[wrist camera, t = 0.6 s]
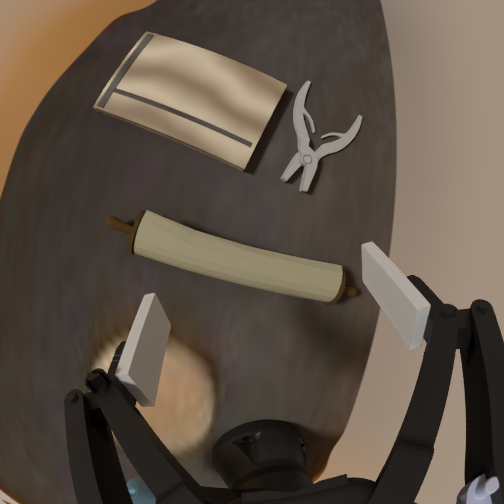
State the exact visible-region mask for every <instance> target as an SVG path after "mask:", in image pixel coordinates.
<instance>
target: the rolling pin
mask: <svg viewBox="0 0 504 504" xmlns="http://www.w3.org/2000/svg"><path fill="white" fill-rule="evenodd" d="M106 223H107V225H108V226H109V227H111V228H113V229H116V230H120V231H123V232H126V233H129V234H130V238H129V242H128V252H129V253H130V254H132V255H133V254H134V253H135V254H138V255H141V256H144V257H147V258H151V259H154V260H157V261H160V262H163V263H166V264H169V265H172V266H175V267H179V268H182V269H185V270H188V271H192V272H196V273H199V274H203V275H207V276H210V277H214V278H218V279H221V280H225V281H229V282H232V283H236V284H241V285H245V286H249V287H254V288H258V289H263V290H267V291H271V292H276V293H281V294H285V295H291V296H296V297H301V298H307V299H312V300H318V301H323V302H324V303H325V304H326V305H334V304H335V303H336V302H337V301H338V300H339V299H340V298H341V296H342V293H343V294H346V295H348V296H350V297H354V296H356V294H357V290H356V289H355V288H354V287H350V286H345V283H346V276H345V271H344V270H343V269H342V266H341V265H336V264H330V263H325V262H320V261H315V260H309V259H304V258H299V257H294V256H290V255H285V254H281V253H276V252H272V251H267V250H263V249H259V248H255V247H251V246H247V245H244V244H240V243H237V242H233V241H230V240H227V239H223V238H220V237H216V236H213V235H210V234H206V233H203V232H200V231H196V230H194V229H191V228H189V227H186V226H184V225H182V224H179V223H177V222H174V221H172V220H169V219H167V218H165V217H162V216H160V215H157V214H155V213H152V212H150V211H148V210H147V211H144V210H143V211H142V212H140V214H139V215H138V217H137V219H136V221H135V223H134V226H132V225H129V224H127V223H125V222H123V221H121V220H120V219H118V218H116V217H113V216H109V217H108V218H107V221H106Z"/></svg>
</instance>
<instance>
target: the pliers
mask: <svg viewBox="0 0 504 504" xmlns="http://www.w3.org/2000/svg"><path fill="white" fill-rule="evenodd" d="M310 83H311V82H310V81H307V82H306V83H305V84H304V85H303V87H302V88H301V89H300V91H299V93H298V95H297V97H296V100H295V104H294V110H293V122H294V127H295V130H296V133H297V138H298V151H299V152H298V153H297V154H296V155H295V156H294V157H293V158H292V160H291V161H290V163H289V165H288V166H287V168H286V170H285V172H284V173H283V175H282V177H281V178H280V179H281V180H282V181H283V182H285V181H287V180H288V179H289V178H290V177H291V175H292V174H293V173H294V172H295V171H296V170H297V169H298V168H299V167H300V166H302V167H304V168H303V174H302V180H301V185H300V190H299V191H301V192H307V191H308V188H309V186H310V184H311V181H312V179H313V176H314V174H315V171H316V169H317V164H318V161H319V159H320V158H321V157H323V156H325V155H327V154H330V153H334V152H337V151H339V150H341V149H343V148H344V147H345V146H347V145H348V144H349V143H350V142H351V141H352V139H353V138H354V137H355V135H356V134H357V132H358V130H359V128H360V125H361V121H362V116H360V115H359V116H358V118H357V119H356V121H355V122H354V124H353V125H352V127H351V128H350V129H349V130H348V132H347V133H346V134H340V133H329V134H326V135H324V136H322V137H321V139H322V138H324V137H327V136H337V137H339V138H340V139H338V140H337V141H334V142H330V143H326V144H323V145H321V146H320V147H319V148H318V149H317V151H316V152H314V151H313V150H312V149H311V148H310V147H309V141H310V139H309V136H308V132H307V129H306V126H305V122H304V118H303V114H304V115H305V116H306V117H307V118H308V120H309V122H310V124H311V128H312V133H315V128H314V123H313V120H312V119H311V117H310V115H309V114H308V113H307V111H306V110H305V108H304V102H305V97H306V94H307V91H308V88H309V85H310Z"/></svg>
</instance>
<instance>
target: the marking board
mask: <svg viewBox="0 0 504 504" xmlns="http://www.w3.org/2000/svg"><path fill="white" fill-rule="evenodd" d="M286 86H287V85H286V84H284V83H282V82H280V81H278V80H276V79H274V78H272V77H270V76H268V75H266V74H264V73H262V72H259V71H257V70H255V69H253V68H251V67H248V66H246V65H244V64H241V63H239V62H237V61H234V60H232V59H229V58H227V57H224V56H222V55H219V54H217V53H214V52H211V51H209V50H206V49H203V48H200V47H197V46H194V45H191V44H188V43H185V42H182V41H179V40H176V39H172V38H169V37H165V36H162V35H158V34H154V33H150V32H146V33H145V34H144V35H143V36H142V37H141V39H140V40H139V41H138V42H137V44H136V45H135V46H134V47H133V49H132V50H131V51H130V53H129V54H128V55H127V57H126V58H125V59H124V61H123V62H122V63H121V65H120V66H119V68H118V69H117V70H116V72H115V73H114V75H113V76H112V78H111V79H110V81H109V82H108V84H107V85H106V87H105V88H104V90H103V91H102V93H101V95H100V96H99V98H98V99H97V101H96V103H95V104H94V106H93V108H94V109H95V110H96V111H98V112H101V113H103V114H106V115H109V116H112V117H115V118H117V119H120V120H123V121H125V122H128V123H131V124H133V125H136V126H139V127H141V128H144V129H146V130H149V131H151V132H154V133H156V134H159V135H161V136H164V137H166V138H169V139H171V140H173V141H176V142H178V143H181V144H183V145H185V146H188V147H190V148H192V149H195V150H197V151H199V152H201V153H204V154H206V155H208V156H210V157H213V158H215V159H217V160H219V161H221V162H224V163H226V164H228V165H230V166H232V167H234V168H236V169H238V170H241V171H243V170H244V169H245V167H246V165H247V163H248V161H249V159H250V157H251V155H252V153H253V151H254V149H255V147H256V145H257V143H258V141H259V139H260V137H261V135H262V133H263V131H264V129H265V127H266V125H267V123H268V121H269V119H270V117H271V115H272V113H273V111H274V109H275V107H276V105H277V103H278V102H279V100H280V98H281V96H282V94H283V92H284V90H285V88H286Z"/></svg>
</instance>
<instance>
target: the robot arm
mask: <svg viewBox="0 0 504 504" xmlns="http://www.w3.org/2000/svg"><path fill="white" fill-rule="evenodd" d="M361 245H362V277H363V282H364V284H365V285H366V287H367V288H368V290H369V291H370V292H371V294H372V295H373V297H374V298H375V300H376V301H377V303H378V304H379V306H380V307H381V308H382V310H383V311H384V313H385V314H386V316H387V318H388V319H389V321H390V322H391V324H392V325H393V327H394V328H395V330H396V331H397V333H398V334H399V336H400V338H401V339H402V341H403V342H404V344H405V346H406V347H407V349H408V350H409V351H410V350H413V349H415V348H418V347H420V346H421V345H422V341H423V338H424V339H425V341H426V342H427V345H426V349H425V352H424V356H423V361H422V365H421V369H420V372H419V376H418V379H417V382H416V386H415V389H414V392H413V395H412V398H411V401H410V404H409V407H408V410H407V413H406V415H405V418H404V421H403V423H402V426H401V429H400V431H399V434H398V436H397V438H396V441H395V443H394V445H393V448H392V450H391V452H390V455H389V457H388V459H387V461H386V463H385V465H384V466H383V468H382V470H381V472H380V474H379V476H378V478H377V480H376V482H374V481H372V480H368V479H364V478H347V474H344V475H341V476H337V477H333V478H330V479H326V480H322V481H319V482H317V483H315V484H313V482H312V480H311V478H310V477H309V475H308V472H307V469H306V446H305V442H304V440H303V438H302V436H301V434H300V433H299V431H298V430H297V429H296V428H295V427H293V426H292V425H290V424H288V423H285V422H281V421H275V420H262V421H254V422H250V423H246V424H243V425H240V426H238V427H236V428H234V429H232V430H230V431H228V432H227V433H225V434H224V435H223V436H222V437H221V438H220V439H219V440H218V441H217V443H216V444H215V446H214V449H213V459H214V465H215V468H216V470H217V472H218V473H219V474H220V476H221V477H222V479H223V480H224V482H225V484H226V485H227V486H228V488H229V489H228V488H214V487H204V486H200V485H199V484H198V483H197V482H196V481H195V480H194V479H193V478H192V477H191V475H190V474H189V473H188V472H187V471H186V470H185V469H184V468H183V467H182V465H181V464H180V463H179V462H178V461H177V460H176V458H175V457H174V456H173V455H172V454H171V453H170V451H169V450H168V449H167V448H166V446H165V445H164V444H163V443H162V441H161V440H160V439H159V438H158V436H157V435H156V434H155V432H154V431H153V430H152V428H151V427H150V426H149V424H148V423H147V421H146V420H145V419H144V417H143V416H142V414H141V413H140V412H139V410H138V409H137V408H136V407H135V405H136V401H137V402H138V403H139V404H140V405H141V406H142V407H146V406H154V405H155V400H156V395H157V389H158V384H159V379H160V374H161V369H162V364H163V360H164V355H165V350H166V346H167V341H168V337H169V332H170V328H171V324H170V322H169V320H168V318H167V316H166V314H165V312H164V310H163V308H162V306H161V304H160V302H159V300H158V298H157V296H156V294H155V293H152V294H147V295H144V298H143V300H142V303H141V305H140V308H139V310H138V313H137V315H136V318H135V320H134V323H133V325H132V328H131V331H130V333H129V336H128V339H127V341H123V342H121V343H120V345H119V346H118V347H117V349H116V351H115V354H114V357H113V359H112V362H111V365H110V368H109V370H108V373H107V374H106V372H105V371H104V370H103V369H100V368H98V369H94V370H92V371H91V372H90V373H88V375H87V376H86V378H85V385H86V386H87V387H88V388H89V390H90V391H91V392H89V393H86V394H83V393H82V392H81V391H80V390H78V389H75V390H72V391H70V392H69V393H68V394H67V395H66V397H65V401H64V405H65V424H66V436H67V446H68V454H69V462H70V468H71V474H72V480H73V485H74V490H75V495H76V499H77V503H78V504H417V503H415V502H414V500H415V498H416V496H417V494H418V492H419V490H420V487H421V485H422V483H423V480H424V478H425V476H426V473H427V471H428V468H429V465H430V462H431V460H432V457H433V453H434V448H433V447H434V443H435V440H436V436H437V433H438V430H439V427H440V423H441V419H442V416H443V412H444V408H445V404H446V400H447V396H448V391H449V386H450V381H451V376H452V370H453V364H454V358H455V351H456V349H460V354H461V361H462V370H463V377H464V388H465V406H466V453H465V486H464V487H463V488H462V489H461V491H460V492H459V494H458V496H457V503H456V504H504V342H503V338H502V335H501V332H500V328H499V325H498V322H497V319H496V316H495V313H494V310H493V307H492V306H491V304H490V303H489V302H488V301H485V300H482V299H481V300H480V299H478V300H475V301H474V302H472V304H471V307H470V308H469V309H461V310H458V309H457V308H456V307H455V306H453V305H450V304H443V302H442V301H441V300H440V299H439V298H438V297H437V296H436V295H435V294H434V293H433V291H432V290H431V289H429V287H428V286H427V285H426V284H425V283H424V282H423V281H422V280H421V279H420V278H418V277H416V276H414V275H410V276H407V277H406V276H405V275H404V274H403V273H402V272H401V271H400V270H399V269H398V268H397V267H396V266H395V264H393V262H392V261H391V260H390V259H389V258H388V257H387V256H386V255H385V254H384V253H383V252H382V251H381V250H380V249H379V248H378V247H377V246H376V245H375V244H374V243H373V242H369V243H365V244H361ZM111 429H112V431H113V433H114V435H115V437H116V438H117V440H118V442H119V444H120V445H121V447H122V449H123V450H124V452H125V454H126V455H127V457H128V458H129V460H130V462H131V463H132V465H133V466H134V468H135V469H136V471H137V472H138V474H139V475H140V476H139V477H134V478H132V479H130V480H129V481H128V483H127V484H126V481H125V478H124V475H123V472H122V469H121V465H120V462H119V458H118V455H117V451H116V447H115V444H114V440H113V435H112V431H111Z"/></svg>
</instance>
